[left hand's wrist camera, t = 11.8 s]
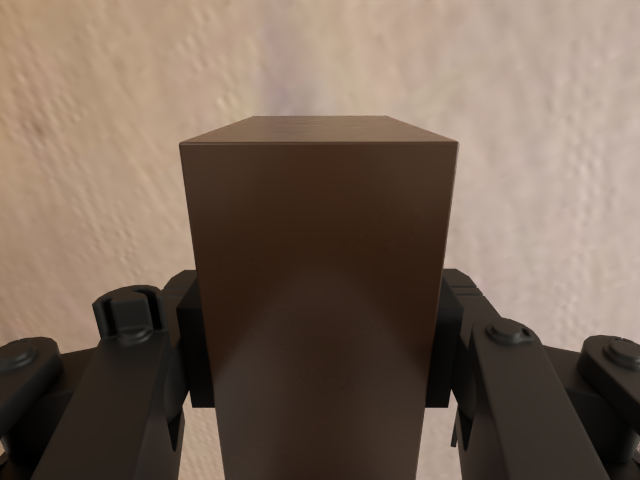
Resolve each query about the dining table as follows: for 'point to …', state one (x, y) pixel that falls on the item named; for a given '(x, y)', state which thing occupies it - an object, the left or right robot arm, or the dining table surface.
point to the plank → (319, 289)
